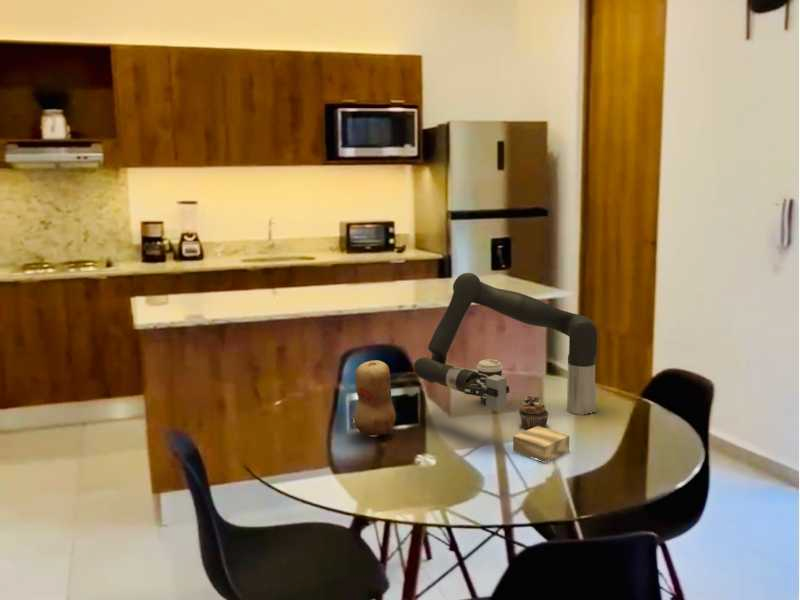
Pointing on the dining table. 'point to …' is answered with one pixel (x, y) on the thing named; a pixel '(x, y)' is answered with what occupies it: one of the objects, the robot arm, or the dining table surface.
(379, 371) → the butternut squash
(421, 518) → the dining table surface
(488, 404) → the grey block
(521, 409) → the cupcake
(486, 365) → the coffee cup
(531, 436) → the birch plinth
